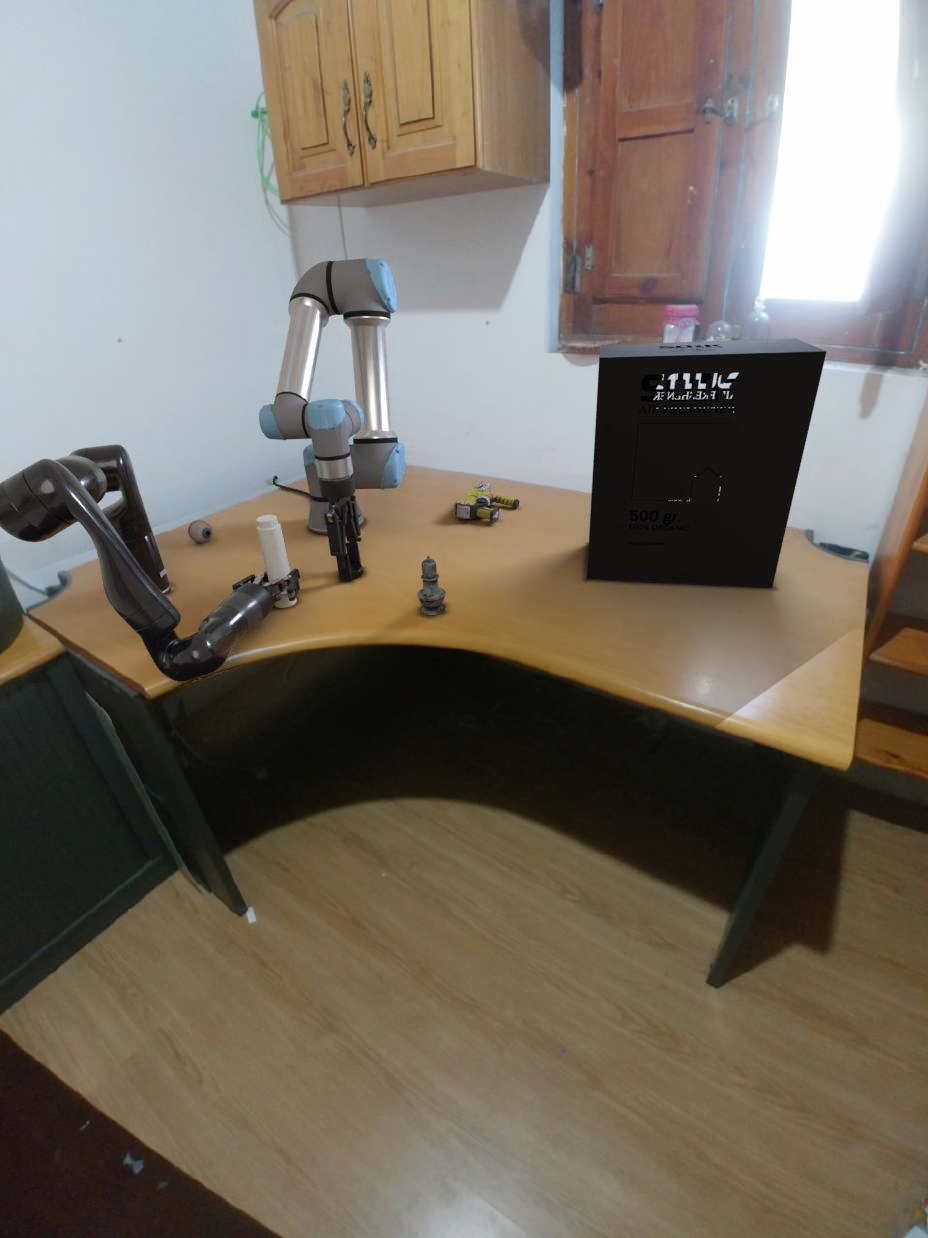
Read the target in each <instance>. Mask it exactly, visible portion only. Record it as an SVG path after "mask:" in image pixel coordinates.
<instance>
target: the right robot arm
mask: <svg viewBox="0 0 928 1238" xmlns="http://www.w3.org/2000/svg"><path fill="white" fill-rule="evenodd" d="M397 310H398V296H397V290H396V285H395V281H394V277H393V274H392V272H391V269H390V266H389V265H388V263H387V262H386V261H385V260H384V259H382V258H368V257H365V258H353V259H341V260H324V261H321V262H318V263H316V264H314V265H313V266H311V267H310V268H309V269H308V270H307V271H306V272H304V274H303V275H302V276H301V278H299V280H298V281H297V282H296V285H295V286H294V288H293V289H292V293H291V295H290V297H289V302H288V305H287V311H288V315H289V317H290V319H289V325H288V330H287V335H286V340H285V346H284V350H283V355H282V356H283V357H282V362H281V367H280V371H279V377H278V382H277V385H276V386H277V387H276V392H275V395H274V401H273V403H269V404H265V405H263V406H262V407H261V408H260V410H259V413H258V422H259V427H260V430H261V432H262V433H263V435H264V436H265V438H267V439H269V440H275V441H277V440H279V441H287V440H310V439H311V443H309V444H308V445H307V446H305V447H304V448H303V450H302V457H303V459H302V460H303V467H304V471H305V477H306V481H307V486H308V492H307V491H304V490H301V489H297V488H293V487H289V486H285V485H282V484H279V483H277V482H276V481H277V480H278V479H279V478H278V476H277V475H274V476H273V478H272V484H273V485H274V486H275V487H277V488H281V489H284V490H287V491H292V492H296V493H299V494H302V495H305V496H308V497H309V498H310V507H309V513H308V528H309V529H308V530H310V531H311V532H312V533H314V534H317V535H323V536H324V535H325V536H327V539H328V546H329V553H330V556H331V557H335V558H336V564H337V565H336V566H337V571H339V572H338V576H339V577H338V578H339V581H340V582H352V581H353V579H352V574H351V568H350V562H359V563H361V564H362V562H361V555H360V549H359V543H360V542H362V537H361V535H362V534H361V527H362V526H363V525H364V523H365V519H364V514H363V512H362V510H361V508H360V505H359V504H358V501H357V496H356V494H355V493H356V490H381V491H383V490H388V489H389V490H390V489H396V488H398V487H400V485H401V484H402V481H403V479H404V475H405V470H406V459H407V457H406V455H407V454H406V448H405V445H404V444H403V443H402V442H399V441H398V440H399V439H398V435H397V433H396V432H395V431H393V430H392V421H391V420H392V417H391V404H390V403H391V401H390V388H389V386H390V385H389V384H390V383H389V367H388V354H387V336H386V335H387V334H386V329H387V327H388V326H389V324H390V323H391V322H392V319H391V314H394V313H396V312H397ZM332 316H342V318H343V319H342V320H343V323H344V324H345V325H346V326H347V327H348V329H349V330H350V343H351V354H352V368H353V369H352V370H353V381H354V382H353V383H354V392H355V393H354V396H355V401H354V400H352V399H336V398H324V399H317V400H313V401H311V402H310V400H311V395H312V390H313V389H312V388H313V383H314V379H315V378H314V377H315V372H316V367H317V363H318V356H319V351H320V346H321V340H322V335H323V334H322V333H323V329H324V328H325V327H327V325H328V324H329V319H330V317H332ZM351 438H352V444H350V441H349V439H351Z"/></svg>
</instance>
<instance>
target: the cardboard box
mask: <svg viewBox="0 0 928 1238" xmlns="http://www.w3.org/2000/svg"><path fill="white" fill-rule="evenodd" d="M827 352H828V351H827V350H824V349H822V348H820V347H818V346H815V345H813V344H811V343H808V342H806V341H802V340H801V339H799V338H768V339H766V338H765V339H737V340H736V339H735V340H709V341H708V340H707V341H705V340H703V341H675V342H672V341H671V342H648V343H647V342H646V343H645V342H644V343H643V342H642V343H616V344H615V343H614V344H612V343H611V344H600V348H599V355H598V356H599V358H598V370H597V371H598V372H597V390H596V391H597V392H596V409H595V410H596V411H595V426H594V445H593V459H592V460H593V461H592V462H593V463H592V479H591V497H590V515H589V532H588V533H589V535H588V547H587V548H588V549H587V568H586V580H588V581H611V582H635V583H655V584H657V583H658V584H675V585H676V584H679V585H698V586H699V585H703V586H725V587H743V588H744V587H745V588H746V587H747V588H768V589H773V586H774V582H775V578H776V573H777V569H778V565H779V560H780V555H781V550H782V548H783V543H784V540H785V539H784V538H785V534H786V530H787V525H788V521H789V517H790V513H791V512H790V511H791V509H792V504H793V499H794V496H795V490H796V486H797V483H798V477H799V474H800V469H801V465H802V461H803V456H804V451H805V447H806V444H807V443H806V442H807V439H808V434H809V429H810V425H811V421H812V416H813V412H814V408H815V404H816V400H817V395H818V391H819V387H820V382H821V378H822V373H823V368H824V365H825V360H826V356H827ZM685 374H689V378H688V385H690V388H686V384H687V379H685V378H684V375H685ZM699 374H700V379H699V378H697V375H699ZM715 374H716V380H715V384H714V386H713V383H714V378H715ZM731 374H736V376H735V378H729V377H730V376H731ZM672 375H677V378H676V379H675V380H674V384H673V385H674V387H673V388H671V385H672V379H671V378H670V377H671V376H672ZM719 379H720V381H719ZM700 384H701V385H705V387H704V388H699V385H700ZM719 384H720V385H724V384H729V387H720V386H719ZM659 386H661V387H662V388H658V387H659Z"/></svg>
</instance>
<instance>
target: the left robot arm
mask: <svg viewBox="0 0 928 1238" xmlns="http://www.w3.org/2000/svg"><path fill="white" fill-rule="evenodd" d="M113 492H115V493H116V492H120V493H121V497H120V498H118V500H116V501H115V502H113V503H112V504H110V505H107V506H106V507H104V508H100V506H99V503H100V502H101V501H102V500H103V499H104V498H105V496H106V493H113ZM76 523H79V524H80V525H81V526H82V527H83V529H84V530H85V531H86V533H87V534H88V536H89V537H90V539H91V541H92V543H93V545H94V548H95V551H96V555H97V557H98V562H99V567H100V574H101V580H102V584H103V590H104V593H105V595H106V598H107V601H108V602H109V604H110V605H111V607H112V608H113V610H114V611H115V612H116V613H117V614H118V616H119V617H120V618H121V619H122V620H123V621H124V622H125V623H126V624H127V625H128V626H129V627H130V628H131V629H132V630H133V631H134V632H135V633H136V634H137V635H138V636H139V637H140V639H141V640H142V643H143V645H144V647H145V649H146V651H147V652H148V654H149V656H150V658H151V660H152V661H153V663H154V665H155V667H156V668H157V670H159V672H160V673H161V674H162V675H164V677H166V678H167V679H170V680H172V681H174V682H177V683H178V682H179V683H183V682H187V681H191V680H194V679H197V678H200V677H203V676H207V675H209V674H211V673H213V672H215V671H217V670H218V669H220V668H221V667H222V666H223V665H224V663H226V661H227V660H228V658H229V656H230V654H231V652H232V651H233V649H234V646H236V645H237V643H238V642H239V641H241V640H242V639H243V638H244V637H245V636H246V635H247V634H249V633H250V632H251V631H253V630H254V629H255V628H256V627H257V626H258V625H259V624H260V623H261V622H262V621H263V620H264V619H265V618H266V617H268V615H269V614H270V613H271V612H272V610H273V607H274V606H275V605H274V603H275V602H277V601H279V600H281V598H289V601H294V600H295V598H296V599H297V597H298V594H299V592H300V589H301V586H300V581H299V580H300V579H301V573H300V570H299V568H293V569H292V570H290V571H291V572H290V573H289V574H288V575H287V576H286V577H284V578H282V579H281V578H277V579H275V580H273V581H271V582H269V579H268V575H267V571H266V570H265V572H263V573H259V574H258V575H257V576H256V575H255V574H250V575H248V576H246V577H244V578H242V579H241V580H238V581H237V582H235V583H233V584H232V585H231V587H232V593H231V594H229V596H227V597H226V598H225V599H224V600H223V601H222V602H220V604H219V605H218V606H217V607H216V608H215V609H214V610H212V612H210V613H209V614H208V615H207V616H206V617H204V619H202V620H201V622H200V624H199V626H198V628H197V629H198V630H197V632H195V633H193V634H191V635H189V636H186V637H182V638H180V637H179V635H178V634H177V632H176V630H175V629H176V628H177V627H178V626H179V625H180V623H181V620H182V615H181V613H180V611H179V609H178V608H177V607H176V606H175V605H174V603H173V602H172V601H171V600H170V599H169V598H168V597H167V596H166V595H167V594H169V592H170V591H171V590H172V585H171V582H170V580H169V577H168V574H167V568H166V567H165V565H164V562H163V559H162V556H161V553H160V550H159V547H158V543H157V540H156V537H155V535H154V532H153V529H152V525H151V523H150V520H149V517H148V513H147V511H146V507H145V505H144V501H143V498H142V495H141V491H140V488H139V485H138V481H137V477H136V474H135V470H134V466H133V462H132V460H131V457H130V454H129V453H128V451H127V449H126V448H125V447H124V446H123V445H121V444H117V443H115V444H114V443H113V444H105V445H98V446H89V447H83V448H78V449H75V450H74V451H72V452H71V453H69V455H67V456H62V457H59V458H57V459H56V458H55V459H52V458H42V459H39V460H37V461H35V462H34V463H32V464H30V465H28V466H27V467H25V468H24V469H22V470H20V471H18V472H16V473H15V474H13V475H12V476H9V477H8V478H6V479H4V480H3V481H1V482H0V528H1V529H2V530H3V531H4V532H6V533H7V534H9V535H10V536H12V537H13V538H15V539H18V540H20V541H24V542H28V543H40V542H44V541H47V540H49V539H51V538H53V537H55V536H56V535H58V534H59V533H61V532H63V531H65V530H66V529H68V528H69V527H71V526H72V525H74V524H76ZM285 582H287V585H286V586H285Z"/></svg>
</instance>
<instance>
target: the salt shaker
mask: <svg viewBox="0 0 928 1238" xmlns="http://www.w3.org/2000/svg"><path fill="white" fill-rule="evenodd" d="M437 570H438V569H437V562H436V560H434V559H432V558H431V557H430V555H427V556H426V559H424V560H423V561H422V562H421V572H422V573H421V576H420V579H421V580H422V588H421V589H419V590H418V592H417V594H416V597H417V598H418V600H419V602H420V604H421V606H420V607H419V612H420V613H421V614H423V615H427V616H436V615H440V614H442V613H443V612H445V611H446V605H445V604H444V603H443V602H444V600H445V596H446V595H447V591H446V590H445V589H444V588H442V587H439V578H440V575H439V573H438V571H437Z"/></svg>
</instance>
